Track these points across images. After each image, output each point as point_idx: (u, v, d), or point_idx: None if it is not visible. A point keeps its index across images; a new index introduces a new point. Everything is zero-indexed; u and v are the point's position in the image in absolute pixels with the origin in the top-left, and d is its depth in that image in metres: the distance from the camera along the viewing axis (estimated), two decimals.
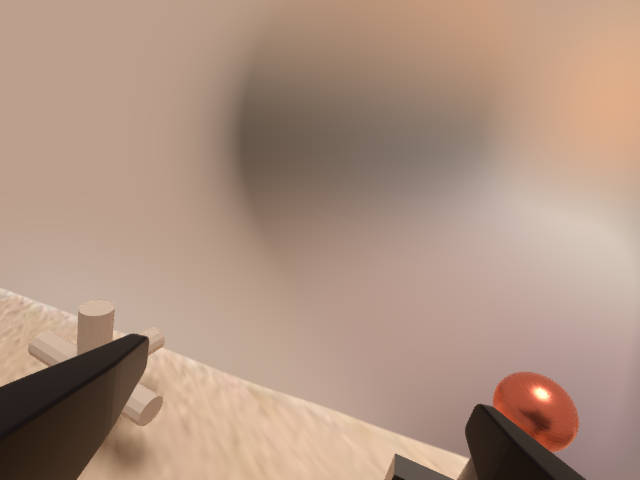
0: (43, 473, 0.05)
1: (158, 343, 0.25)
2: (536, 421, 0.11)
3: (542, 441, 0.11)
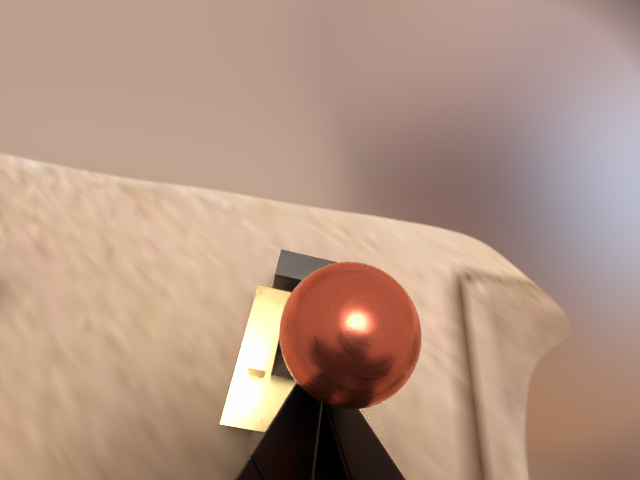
0: None
1: None
2: (320, 393, 0.05)
3: (335, 405, 0.06)
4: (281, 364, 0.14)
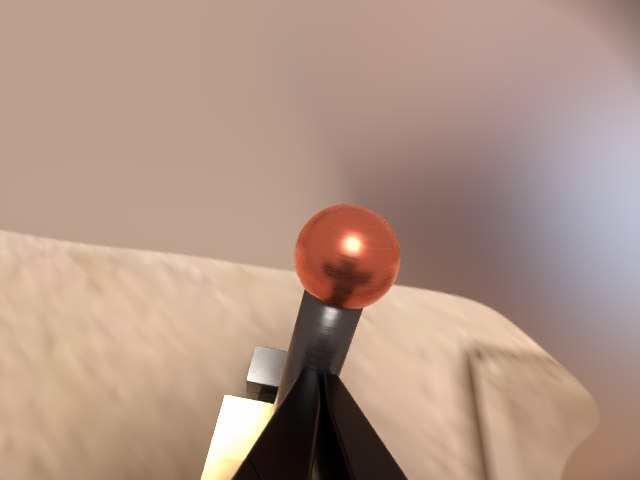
0: None
1: None
2: (337, 252, 0.07)
3: (348, 282, 0.07)
4: None
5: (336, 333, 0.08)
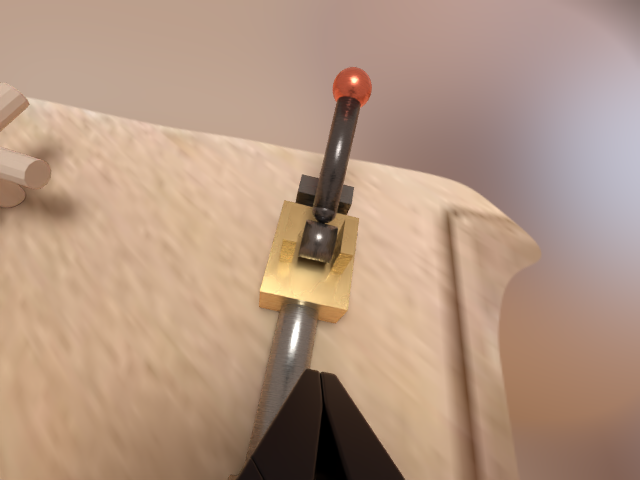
0: None
1: (18, 101, 0.21)
2: (350, 70, 0.21)
3: (355, 78, 0.20)
4: (311, 221, 0.20)
5: (351, 108, 0.21)
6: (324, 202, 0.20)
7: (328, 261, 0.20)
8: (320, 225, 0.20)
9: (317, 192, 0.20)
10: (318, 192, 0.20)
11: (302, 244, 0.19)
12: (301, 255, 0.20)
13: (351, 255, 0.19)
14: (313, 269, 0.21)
